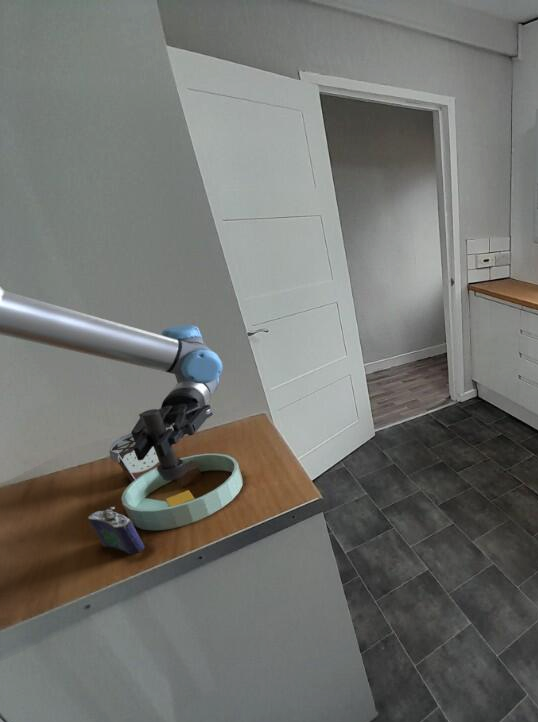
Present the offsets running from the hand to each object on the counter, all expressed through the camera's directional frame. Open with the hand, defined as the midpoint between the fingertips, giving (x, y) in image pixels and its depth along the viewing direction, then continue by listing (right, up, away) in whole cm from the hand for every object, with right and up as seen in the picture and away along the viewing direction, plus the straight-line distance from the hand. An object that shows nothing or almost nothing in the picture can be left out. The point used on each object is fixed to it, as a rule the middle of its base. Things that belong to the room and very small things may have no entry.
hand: (149, 452), depth 78 cm
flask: (-3, -19, 0) cm, 20 cm away
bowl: (-3, -13, +14) cm, 19 cm away
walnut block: (-7, -10, +18) cm, 22 cm away
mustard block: (0, -15, +9) cm, 17 cm away
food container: (-21, -9, +22) cm, 32 cm away
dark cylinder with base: (-2, -6, +8) cm, 11 cm away
